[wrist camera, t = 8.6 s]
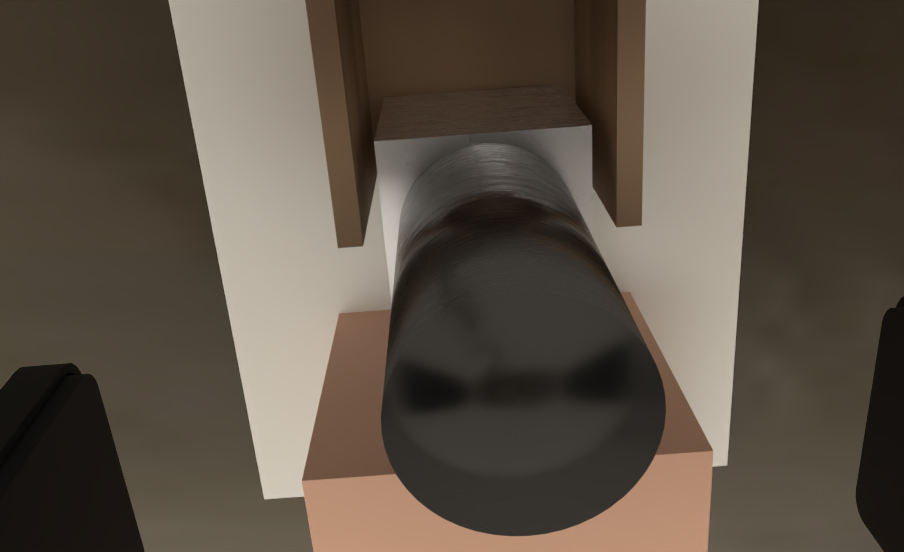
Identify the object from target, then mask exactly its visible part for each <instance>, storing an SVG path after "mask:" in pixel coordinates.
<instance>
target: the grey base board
mask: <svg viewBox="0 0 904 552" xmlns="http://www.w3.org/2000/svg"><path fill="white" fill-rule="evenodd" d="M758 3H759V0H646V26H645V80H644V135H643V190H642V226H630V227H616V226H615V224H614V222H613V221H612V219H611V217H610V216H609V214H608V212H607V211H606V209H605V207H604V205H603V204H602V202H601V200H600V199H599V197H598V195H597V193H596V192H595V190H594V188H593V187H592V202H593V239H594V241H595V243H596V245H597V247H598V249H599V251H600V253H601V255H602V257H603V259H604V261H605V263H606V265H607V267H608V269H609V271H610V273H611V275H612V277H613V279H614V281H615V283H616V285H617V287H618V289H619V291H620V293H622V292H630V293H631V295H632V297H633V298H634V300H635V302H636V304H637V306H638V308H639V310H640V312H641V314H642V316H643V318H644V319H645V321H646V323H647V325H648V327H649V329H650V331H651V333H652V335H653V337H654V339H655V340H656V342H657V344H658V346H659V348H660V350H661V352H662V354H663V356H664V358H665V360H666V361H667V363H668V365H669V367H670V369H671V371H672V373H673V375H674V377H675V379H676V381H677V382H678V384H679V386H680V388H681V390H682V392H683V394H684V396H685V398H686V400H687V402H688V403H689V405H690V407H691V409H692V411H693V413H694V415H695V417H696V419H697V421H698V423H699V424H700V426H701V428H702V430H703V432H704V434H705V436H706V438H707V440H708V442H709V444H710V445H711V447H712V449H713V466H727V459H728V445H729V430H730V415H731V400H732V386H733V371H734V356H735V342H736V327H737V312H738V298H739V283H740V268H741V253H742V239H743V224H744V209H745V195H746V180H747V165H748V151H749V136H750V121H751V106H752V92H753V77H754V62H755V48H756V33H757V18H758ZM169 6H170V11H171V16H172V21H173V26H174V32H175V37H176V42H177V47H178V52H179V58H180V63H181V68H182V73H183V78H184V84H185V89H186V94H187V99H188V104H189V110H190V115H191V120H192V125H193V130H194V136H195V141H196V146H197V151H198V157H199V162H200V167H201V172H202V177H203V183H204V188H205V193H206V198H207V203H208V209H209V214H210V219H211V224H212V229H213V235H214V240H215V245H216V250H217V255H218V261H219V266H220V271H221V276H222V281H223V287H224V292H225V297H226V302H227V307H228V313H229V318H230V323H231V328H232V333H233V339H234V344H235V349H236V354H237V359H238V365H239V370H240V375H241V380H242V385H243V391H244V396H245V401H246V406H247V411H248V417H249V422H250V427H251V432H252V438H253V443H254V448H255V453H256V458H257V464H258V469H259V474H260V479H261V484H262V490H263V495H264V499H275V498H288V497H302V496H304V492H303V486H302V477H303V473H304V468H305V464H306V459H307V455H308V450H309V446H310V441H311V437H312V432H313V428H314V424H315V419H316V415H317V410H318V406H319V401H320V397H321V392H322V388H323V383H324V379H325V374H326V370H327V365H328V361H329V356H330V352H331V347H332V343H333V338H334V334H335V329H336V325H337V320H338V316H339V313H352V312H365V311H379V310H391V305H392V304H391V294H390V285H389V276H388V267H387V257H386V248H385V239H384V230H383V220H382V211H381V202H380V193H379V184H378V174H377V178H376V183H375V188H374V194H373V199H372V204H371V209H370V214H369V219H368V224H367V229H366V234H365V239H364V245H363V246H361V247H348V248H338V245H337V238H336V230H335V223H334V215H333V208H332V200H331V192H330V185H329V177H328V170H327V162H326V155H325V147H324V139H323V132H322V124H321V117H320V109H319V101H318V94H317V86H316V79H315V71H314V64H313V56H312V48H311V41H310V33H309V26H308V18H307V10H306V3H305V0H169ZM713 466H712V467H713Z"/></svg>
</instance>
